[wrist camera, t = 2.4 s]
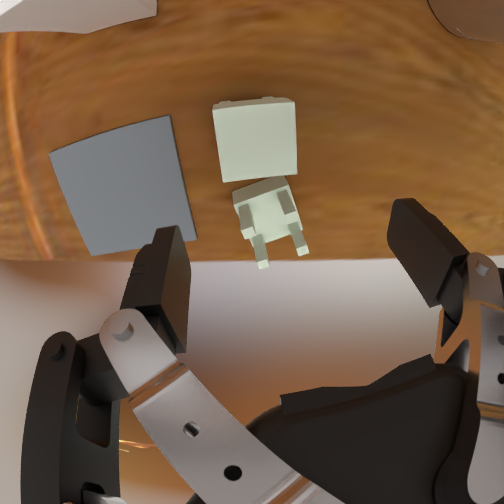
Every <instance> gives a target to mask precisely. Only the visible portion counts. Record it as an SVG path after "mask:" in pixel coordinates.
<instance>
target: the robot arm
mask: <svg viewBox="0 0 504 504" xmlns="http://www.w3.org/2000/svg"><path fill="white" fill-rule="evenodd" d="M428 2H429V4H430V6H431V9H432V10H433V12H434V14H435V16H436V17H437V18H438V20H439V21H440V23H441V24H442V25H443V26H444V27H445V28H446V29H447V30H448V31H450V32H451V33H452V34H454V35H456V36H458V37H461V38H469V39H473V40H482V41H487V42H492V43H497V44H502V45H504V0H428ZM387 241H388V245H389V247H390V249H391V250H392V251H393V253H394V254H395V256H396V257H397V259H398V260H399V261H400V263H401V264H402V266H403V267H404V269H405V270H406V272H407V273H408V275H409V276H410V278H411V279H412V281H413V282H414V284H415V285H416V287H417V288H418V290H419V291H420V293H421V294H422V296H423V298H424V299H425V301H426V303H427V304H428V306H429V307H430V308H431V307H434V306H436V305H440V304H441V305H442V306H443V307H442V309H441V311H440V314H439V323H438V332H437V340H436V346H435V352H434V356H433V359H432V357H431V355H430V354H429V355H426V356H424V357H421V358H418V359H416V360H413V361H410V362H407V363H405V364H402V365H399V366H398V367H397V368H395V369H394V370H392V371H391V372H389V373H387V374H386V375H384V376H383V377H381V378H380V379H378V380H377V381H375V382H373V383H372V384H370V385H367V386H359V387H320V388H315V389H310V390H305V391H300V392H294V393H289V394H283V395H280V405H278V406H275V407H273V408H271V409H269V410H267V411H265V412H263V413H262V414H260V415H259V416H257V417H256V418H254V419H253V420H252V421H251V422H250V423H248V424H247V425H246V426H245V427H244V426H243V425H242V424H240V423H239V422H238V421H237V420H236V419H235V418H234V417H233V416H232V415H231V414H230V413H229V412H228V411H227V410H226V409H225V408H224V407H223V406H222V405H221V404H220V403H219V402H218V401H217V400H216V399H215V397H214V396H213V395H212V394H211V393H210V392H209V391H208V390H207V389H206V388H205V387H204V386H203V385H202V384H201V382H200V381H199V380H198V379H197V378H196V377H195V376H194V375H193V374H192V372H190V370H189V369H188V368H187V367H186V366H185V365H184V364H183V363H182V364H181V363H180V362H179V361H178V360H177V358H176V357H175V354H176V353H186V344H187V325H188V310H189V295H190V283H191V267H190V261H189V257H188V254H187V251H186V248H185V244H184V241H183V237H182V234H181V231H180V228H179V226H178V225H174V226H168V227H162V228H157V229H156V231H155V235H154V238H153V241H152V244H145V245H144V246H143V247H142V249H141V250H140V251H139V252H138V253H137V255H136V257H135V260H134V263H133V268H132V269H131V273H130V277H129V279H128V282H127V285H126V289H125V292H124V296H123V299H122V303H121V306H120V310H119V311H117V312H115V313H113V314H112V315H110V316H109V317H108V318H107V319H106V320H105V321H104V323H103V324H102V326H101V329H100V333H98V334H95V335H93V336H90V337H87V338H84V339H81V340H79V341H77V340H76V339H75V338H74V337H73V336H72V335H71V334H70V333H68V332H65V331H63V332H58V333H55V334H53V335H52V336H51V337H49V338H48V339H47V341H46V342H45V343H44V345H43V347H42V350H41V352H40V355H39V359H38V363H37V366H36V370H35V374H34V379H33V383H32V387H31V392H30V397H29V402H28V407H27V413H26V420H25V427H24V435H23V444H22V456H21V504H127V503H126V502H125V501H123V500H122V499H121V498H120V483H119V414H120V399H122V398H126V397H129V396H130V397H131V399H130V400H129V404H130V406H131V408H132V410H133V411H134V413H135V415H136V416H137V418H138V419H139V421H140V422H141V424H142V425H143V427H144V428H145V430H146V431H147V433H148V434H149V436H150V437H151V438H152V440H153V441H154V443H155V444H156V445H157V447H158V448H159V449H160V451H161V452H162V453H163V455H164V456H165V457H166V458H167V460H168V461H169V462H170V463H171V464H172V466H173V467H174V468H175V470H176V471H177V472H178V473H179V474H180V475H181V477H183V479H184V480H185V481H186V482H187V483H188V484H189V486H190V487H191V488H192V489H193V490H194V491H195V493H194V495H193V496H192V497H191V498H190V500H189V501H188V502H187V503H186V504H504V268H497V266H496V265H495V263H494V262H493V261H492V260H491V259H490V258H489V257H487V256H485V255H483V254H481V253H476V252H474V253H471V254H470V253H469V252H468V250H467V249H466V248H465V247H464V246H463V245H462V244H461V243H460V241H459V240H458V239H457V238H456V237H455V236H454V235H453V234H452V233H451V232H449V230H448V229H447V228H446V227H445V225H443V223H442V222H441V221H440V220H439V219H438V218H437V217H436V216H434V215H433V214H431V213H429V212H428V211H427V210H426V209H425V208H424V207H423V206H422V205H421V204H420V203H419V202H417V201H416V200H415V199H414V198H404V199H396V200H395V201H394V203H393V207H392V212H391V217H390V222H389V226H388V231H387ZM78 398H79V402H78ZM77 405H78V410H77ZM76 414H77V420H76Z"/></svg>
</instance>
